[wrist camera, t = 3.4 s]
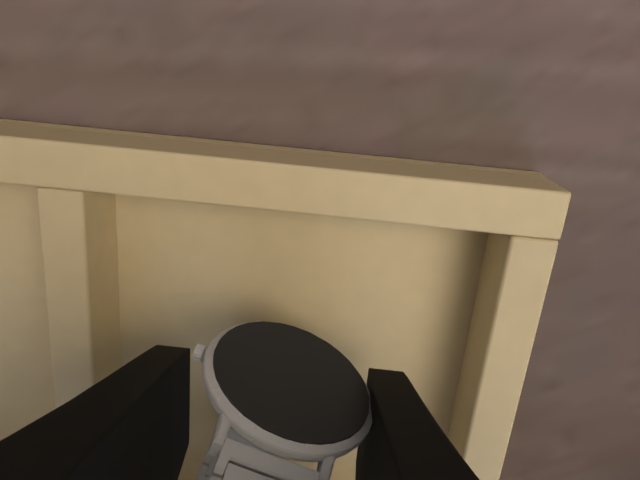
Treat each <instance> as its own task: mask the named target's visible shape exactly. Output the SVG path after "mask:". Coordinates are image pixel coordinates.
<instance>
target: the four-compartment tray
mask: <svg viewBox="0 0 640 480" xmlns="http://www.w3.org/2000/svg"><path fill="white" fill-rule="evenodd" d="M570 198H571V193H570V192H569V191H567V190H565V189H564V188H562V187H561V186H559V185H557V184H556V183H554V182H553V181H551V180H550V179H548V178H546V177H545V176H544V175H542V174H541V173H539V172H534V171H524V170H514V169H504V168H494V167H484V166H474V165H464V164H454V163H443V162H433V161H423V160H413V159H403V158H393V157H383V156H373V155H363V154H353V153H343V152H333V151H323V150H313V149H302V148H292V147H282V146H272V145H262V144H252V143H242V142H232V141H222V140H212V139H202V138H192V137H182V136H171V135H161V134H151V133H141V132H131V131H121V130H111V129H101V128H91V127H81V126H71V125H61V124H51V123H41V122H30V121H20V120H10V119H0V440H2V439H4V438H6V437H8V436H10V435H11V434H13V433H15V432H16V431H18V430H20V429H22V428H23V427H25V426H27V425H29V424H30V423H32V422H34V421H35V420H37V419H39V418H41V417H42V416H44V415H46V414H47V413H49V412H51V411H53V410H54V409H56V408H58V407H60V406H61V405H63V404H65V403H66V402H68V401H70V400H71V399H73V398H74V397H76V396H77V395H79V394H81V393H82V392H84V391H85V390H87V389H88V388H90V387H92V386H93V385H95V384H96V383H98V382H99V381H101V380H102V379H104V378H106V377H107V376H109V375H110V374H112V373H113V372H115V371H116V370H118V369H119V368H121V367H122V366H124V365H125V364H127V363H128V362H130V361H131V360H133V359H134V358H136V357H138V356H139V355H141V354H142V353H144V352H145V351H147V350H149V349H150V348H152V347H154V346H155V345H164V346H173V347H182V348H190V428H189V445H188V448H187V452H186V455H185V458H184V461H183V465H182V468H181V471H180V474H179V477H178V480H196V477H197V474H198V472H199V469H200V466H201V465H202V462H204V463H206V464H210V463H209V462H206V461H204V457H205V454H206V452H207V450H208V447H209V445H210V442H211V440H212V437H213V434H214V431H215V427H216V424H217V421H218V417H219V415H218V414H217V413H216V411H215V410H214V408H213V406H212V404H211V403H210V401H209V399H208V397H207V393H206V390H205V387H204V384H203V377H202V365H203V363H202V362H201V361H200V362H197V361H194V360H192V359H191V357H192V354H193V352H194V350H195V347H196V345H197V344H198V343H199V344H201V345H204V346H206V348H208V346H209V344H210V343H211V341H212V340H213V339H214V338H215V337H216V336H217V335H218V334H219V333H220V332H222V331H224V330H226V329H227V328H229V327H231V326H234V325H238V324H241V323H247V322H256V321H257V320H261V321H265V322H275V323H282V324H287V325H291V326H295V327H297V328H300V329H303V330H305V331H308V332H310V333H312V334H314V335H316V336H317V337H319V338H321V339H323V340H325V341H326V342H328V343H329V344H331V345H332V346H333V347H335V348H336V349H337V350H339V351H340V352H341V353H342V354H343V355H344V356H345V357H346V358H347V359H348V360H349V361H350V362H351V363H352V364H353V366H354V367H355V368H356V370H357V371H358V372H359V373H360V375H361V377H362V378H363V380H364V381H365V383H366V384H367V377H368V370H369V368H375V369H384V370H393V371H402V372H404V373H405V374H406V376H407V377H408V378H409V380H410V381H411V383H412V385H413V386H414V388H415V390H416V391H417V393H418V394H419V396H420V397H421V399H422V401H423V402H424V404H425V405H426V407H427V408H428V410H429V411H430V413H431V414H432V416H433V417H434V419H435V420H436V422H437V423H438V425H439V426H440V427H441V429H442V430H443V432H444V433H445V435H446V436H447V437H448V439H449V440H450V441H451V443H452V444H453V445H454V447H455V448H456V450H457V451H458V452H459V454H460V455H461V456H462V458H463V459H464V460H465V462H466V463H467V464H468V465H469V467H470V468H471V469H472V471H473V472H474V473H475V474H476V476H477V477H478V478H479V479H480V480H499V478H500V474H501V470H502V466H503V462H504V458H505V454H506V450H507V446H508V442H509V438H510V434H511V430H512V426H513V422H514V418H515V414H516V410H517V406H518V402H519V398H520V394H521V390H522V386H523V382H524V378H525V374H526V370H527V367H528V363H529V359H530V355H531V351H532V347H533V343H534V339H535V335H536V331H537V327H538V323H539V319H540V315H541V311H542V307H543V303H544V299H545V295H546V291H547V287H548V283H549V279H550V275H551V271H552V267H553V263H554V259H555V255H556V251H557V247H558V241H557V240H558V239H560V238H561V234H562V230H563V226H564V222H565V218H566V214H567V210H568V206H569V202H570ZM205 350H206V349H205ZM357 450H358V447H356V448H355V449H354V450H352V451H351V452H349V453H348V454H346V455H344V456H341V457H339V458H336V459H335V462H334V465H333V469H332V473H331V476H330V480H355V473H356V457H357ZM273 455H274V454H273ZM275 456H276V455H275ZM278 457H279V456H278ZM280 458H283V457H280ZM283 459H286V458H283ZM286 460H289V461H291V462H294V463H297V464H299V465H302V466H305V467H307V468H310V469H313V470H315V471H316V470H317V465H318V462H301V461H293V460H290V459H286ZM206 475H208V474H206ZM208 476H210V475H208Z"/></svg>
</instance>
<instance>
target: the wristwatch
mask: <svg viewBox="0 0 640 480" xmlns="http://www.w3.org/2000/svg"><path fill="white" fill-rule="evenodd" d="M205 349H206V350H205ZM191 359H192V360H194V361H197V362H200V361H201V362H202V363H203V365H202V377H203V384H204V387H205V390H206V393H207V397H208V399H209V401H210V403H211V404H212V406H213V408H214V410H215V411H216V413H217V414H218V415H219V417H218V421H217V424H216V427H215V431H214V434H213V437H212V440H211V442H210V445H209V447H208V450H207V452H206V454H205V457H204V461H206V462H209V463H210V464H206V463H204V462H202V465H201V466H200V469H199V472H198V474H197V477H196V480H330V476H331V473H332V469H333V465H334V462H335V459H336V458H339V457H341V456H344V455H346V454H348V453H349V452H351V451H352V450H354V449H355V448H356V447H358V446H359V445H360V443H361V442H362V441H363V440H364V438H365V437H366V436H367V434H368V433H369V431H370V428H371V425H372V413H371V405H370V392H369V390H368V387H367V385H366V383H365V381H364V380H363V378H362V377H361V375H360V373H359V372H358V371H357V370H356V368H355V367H354V366H353V364H352V363H351V362H350V361H349V360H348V359H347V358H346V357H345V356H344V355H343V354H342V353H341V352H340V351H339V350H337V349H336V348H335V347H333V346H332V345H331V344H329V343H328V342H326V341H325V340H323V339H321V338H319V337H317V336H316V335H314V334H312V333H310V332H308V331H305V330H303V329H300V328H297V327H295V326H291V325H287V324H282V323H275V322H265V321H261V320H257V321H256V322H247V323H241V324H238V325H234V326H231V327H229V328H227V329H226V330H224V331H222V332H220V333H219V334H218V335H217V336H216V337H215V338H214V339H213V340H212V341H211V343H210V344H209V346H208V348H206V346H204V345H201V344H199V343H198V344H197V345H196V347H195V350H194V352H193V354H192V357H191ZM273 454H274V455H273ZM275 455H276V456H275ZM278 456H279V457H278ZM280 457H283V458H286V459H290V460H293V461H301V462H318V465H317V470H316V471H315V470H313V469H310V468H307V467H305V466H302V465H299V464H297V463H294V462H291V461H289V460H286V459H283V458H280ZM206 474H208V475H210V476H208V475H206Z"/></svg>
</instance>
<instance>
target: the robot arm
mask: <svg viewBox="0 0 640 480" xmlns="http://www.w3.org/2000/svg"><path fill="white" fill-rule="evenodd" d="M366 385H367V387H368V390H369V392H370V405H371V413H372V425H371V428H370V431H369V433H368V434H367V436H366V437H365V438H364V440H363V441H362V442H361V443H360V445H359V446H358V450H357V457H356V473H355V480H480V479H479V478H478V477H477V476H476V474H475V473H474V472H473V471H472V469H471V468H470V467H469V465H468V464H467V463H466V462H465V460H464V459H463V458H462V456H461V455H460V454H459V452H458V451H457V450H456V448H455V447H454V445H453V444H452V443H451V441H450V440H449V439H448V437H447V436H446V435H445V433H444V432H443V430H442V429H441V427H440V426H439V425H438V423H437V422H436V420H435V419H434V417H433V416H432V414H431V413H430V411H429V410H428V408H427V407H426V405H425V404H424V402H423V401H422V399H421V397H420V396H419V394H418V393H417V391H416V390H415V388H414V386H413V385H412V383H411V381H410V380H409V378H408V377H407V376H406V374H405V373H404V372H402V371H393V370H384V369H375V368H369V370H368V377H367V384H366ZM189 428H190V348H182V347H173V346H164V345H155V346H154V347H152V348H150V349H149V350H147V351H145V352H144V353H142V354H141V355H139V356H138V357H136V358H134V359H133V360H131V361H130V362H128V363H127V364H125V365H124V366H122V367H121V368H119V369H118V370H116V371H115V372H113V373H112V374H110V375H109V376H107V377H106V378H104V379H102V380H101V381H99V382H98V383H96V384H95V385H93V386H92V387H90V388H88V389H87V390H85V391H84V392H82V393H81V394H79V395H77V396H76V397H74V398H73V399H71V400H70V401H68V402H66V403H65V404H63V405H61V406H60V407H58V408H56V409H54V410H53V411H51V412H49V413H47V414H46V415H44V416H42V417H41V418H39V419H37V420H35V421H34V422H32V423H30V424H29V425H27V426H25V427H23V428H22V429H20V430H18V431H16V432H15V433H13V434H11V435H10V436H8V437H6V438H4V439H2V440H0V480H178V477H179V474H180V471H181V468H182V465H183V461H184V458H185V455H186V452H187V448H188V445H189Z"/></svg>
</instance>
